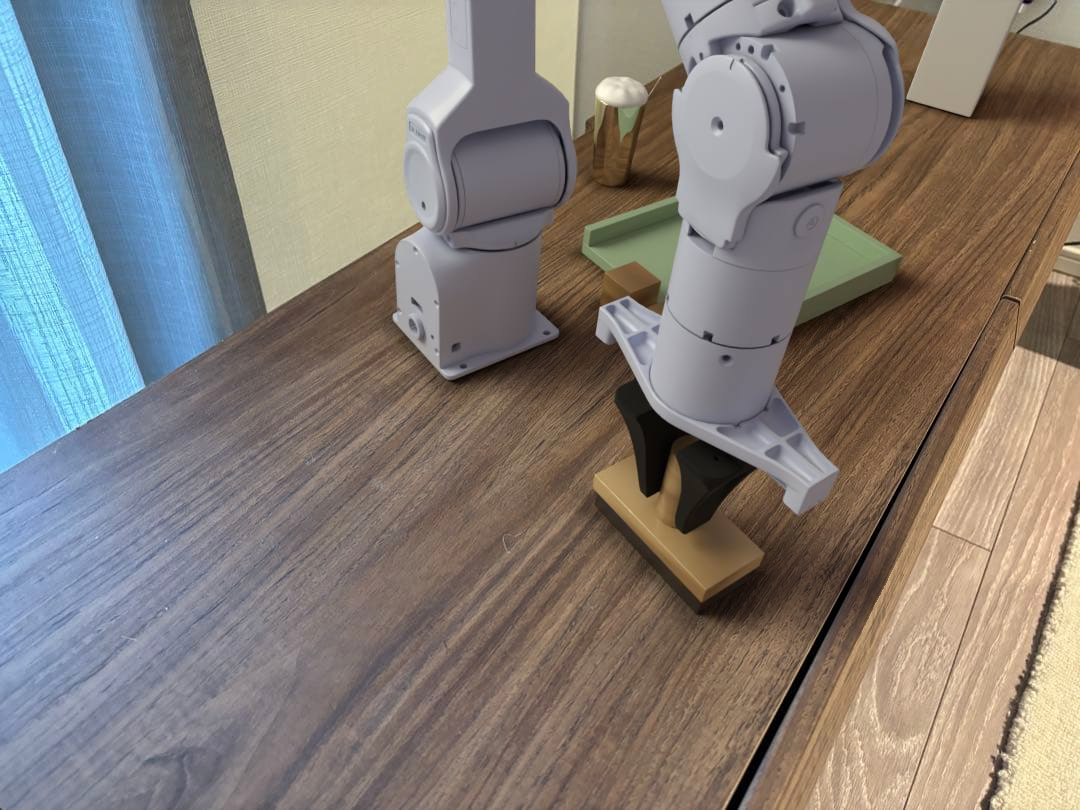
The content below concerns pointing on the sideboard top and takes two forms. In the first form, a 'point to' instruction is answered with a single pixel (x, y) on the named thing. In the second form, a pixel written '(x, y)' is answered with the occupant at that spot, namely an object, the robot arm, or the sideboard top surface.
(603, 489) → the brush
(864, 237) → the tray
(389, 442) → the sideboard top surface
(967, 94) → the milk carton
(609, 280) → the crumb
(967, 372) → the sideboard top surface
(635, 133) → the milkshake
